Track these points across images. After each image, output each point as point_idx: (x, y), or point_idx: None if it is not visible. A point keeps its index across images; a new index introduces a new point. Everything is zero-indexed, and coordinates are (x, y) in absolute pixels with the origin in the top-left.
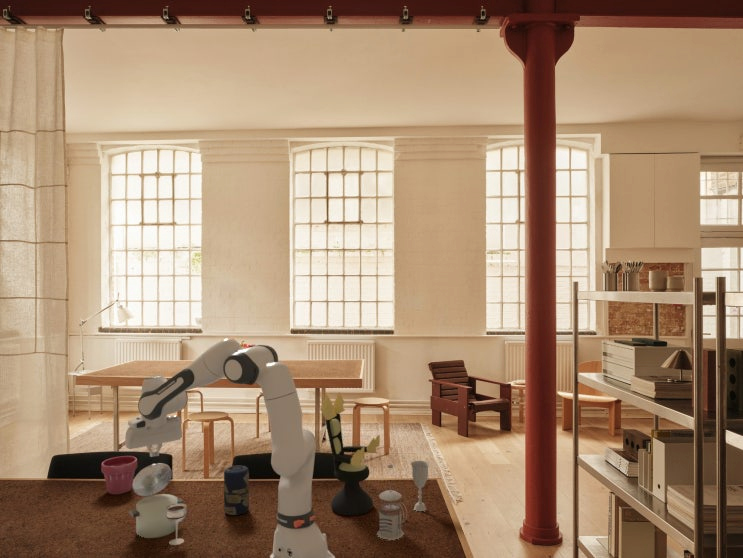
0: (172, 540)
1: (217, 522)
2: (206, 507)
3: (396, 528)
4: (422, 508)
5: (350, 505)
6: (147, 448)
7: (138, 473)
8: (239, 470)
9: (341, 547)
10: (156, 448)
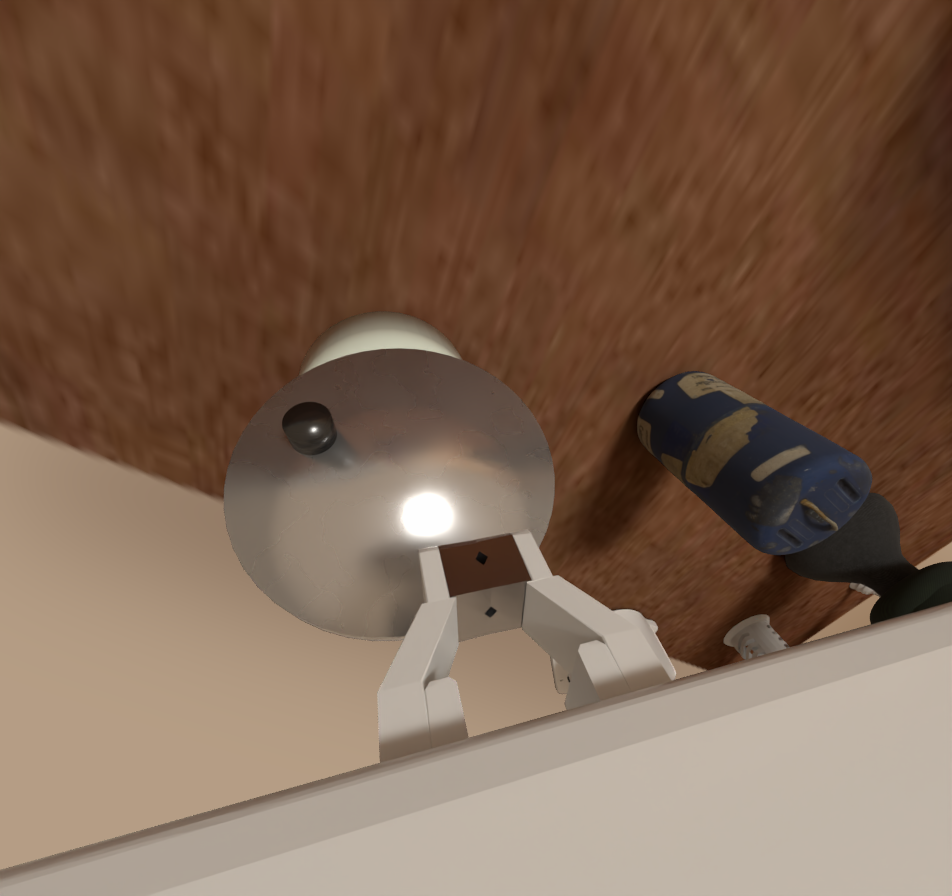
0: None
1: (580, 452)
2: (634, 297)
3: (750, 658)
4: (859, 591)
5: (808, 576)
6: (391, 675)
7: (259, 588)
8: (801, 542)
9: (664, 642)
10: (548, 596)
